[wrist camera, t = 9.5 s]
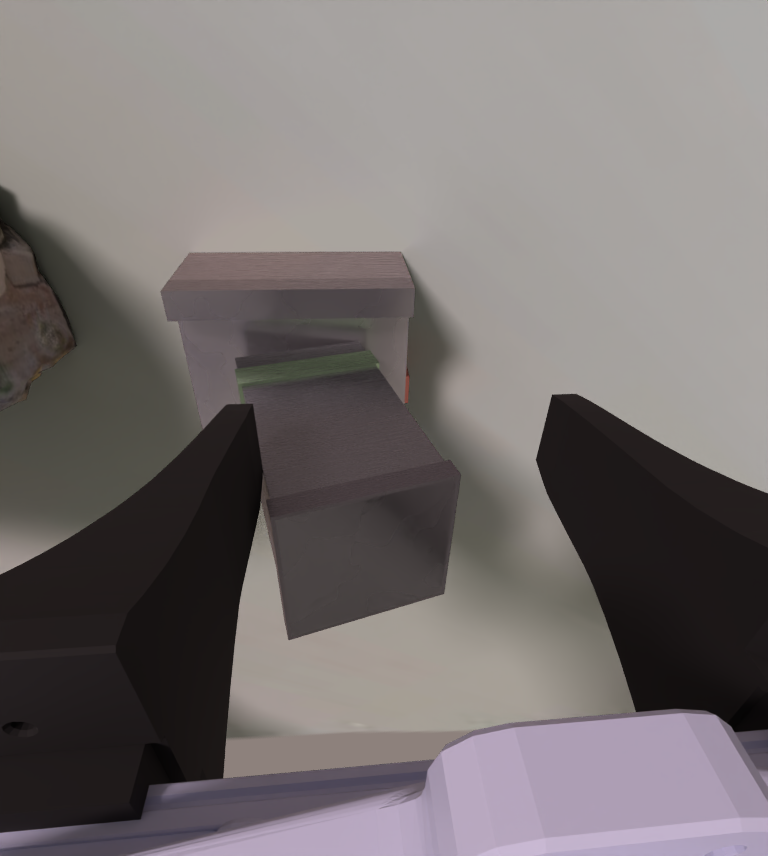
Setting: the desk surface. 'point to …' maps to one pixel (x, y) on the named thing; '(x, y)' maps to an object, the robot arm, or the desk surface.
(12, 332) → the fossil rock
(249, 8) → the desk surface
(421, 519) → the grey rectangular block
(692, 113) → the desk surface
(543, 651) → the desk surface
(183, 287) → the stand block
